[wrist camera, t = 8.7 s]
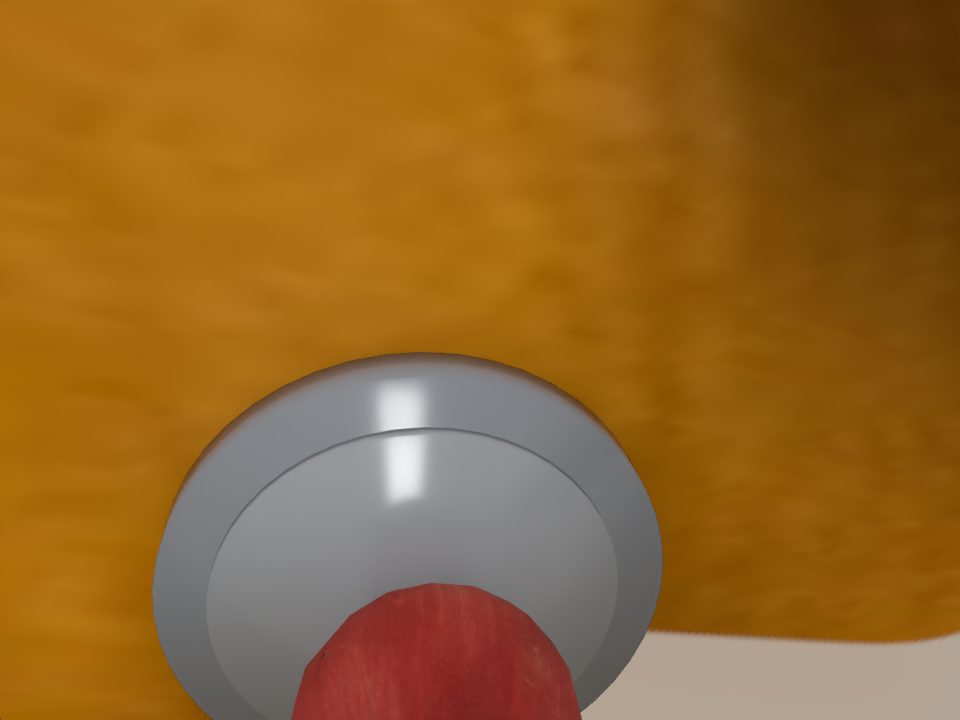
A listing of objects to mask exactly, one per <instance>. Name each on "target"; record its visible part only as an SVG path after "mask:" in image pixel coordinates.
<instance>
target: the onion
mask: <svg viewBox="0 0 960 720" xmlns="http://www.w3.org/2000/svg"><path fill="white" fill-rule="evenodd" d="M291 720H582V719H581V715H580V710H579V706H578V702H577V698H576V694H575V690H574V686H573V682H572V678H571V674H570V670H569V667H568V666H567V664H566V663H565V661H564V659H563V658H562V656H561V655H560V653H559V652H558V650H557V648H556V647H555V645H554V644H553V642H552V641H551V640H550V639H549V638H548V636H547V635H546V634H545V633H544V632H543V631H542V630H541V629H540V627H539V626H538V625H537V624H536V623H535V622H534V621H533V620H532V618H531V617H530V616H529V615H528V614H526V613H525V612H523V611H522V610H521V609H519V608H518V607H516V606H515V605H513V604H512V603H510V602H509V601H507V600H504V599H502V598H500V597H498V596H495V595H493V594H491V593H489V592H487V591H484V590H482V589H480V588H478V587H475V586H467V585H454V584H441V583H428V584H423V585H419V586H414V587H410V588H404V589H399V590H395V591H391V592H387V593H385V594H384V595H382V596H380V597H379V598H377V599H375V600H374V601H372V602H370V603H369V604H367V605H366V606H364V607H362V608H361V609H359V610H357V611H356V612H354V613H353V614H351V615H350V616H349V617H348V618H347V619H346V620H345V621H344V623H343V624H342V625H341V626H340V627H339V628H338V630H337V631H336V632H335V633H334V634H333V635H332V637H331V638H330V639H329V640H328V641H327V642H326V644H325V645H324V646H323V647H322V648H321V649H320V651H319V652H318V653H317V654H316V655H315V656H314V658H313V659H312V660H311V661H310V662H309V663H308V665H307V666H306V667H305V670H304V674H303V677H302V680H301V684H300V687H299V690H298V694H297V697H296V700H295V705H294V709H293V713H292V717H291Z"/></svg>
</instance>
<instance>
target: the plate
mask: <svg viewBox="0 0 960 720" xmlns="http://www.w3.org/2000/svg"><path fill="white" fill-rule="evenodd" d="M662 568H663V558H662V541H661V535H660V531H659V526H658V522H657V517H656V514H655V511H654V509H653V506H652V504H651V501H650V499H649V497H648V494H647V492H646V489H645V487H644V486H643V484H642V482H641V480H640V478H639V476H638V474H637V472H636V470H635V468H634V466H633V464H632V462H631V461H630V459H629V457H628V456H627V454H626V453H625V451H624V449H623V448H622V446H621V444H620V443H619V441H618V440H617V438H616V437H615V436H614V435H613V434H612V432H611V431H610V430H609V429H608V428H607V427H606V426H605V424H604V423H603V422H602V421H601V420H600V419H599V417H597V416H596V415H595V414H594V413H593V412H591V411H590V410H589V409H588V408H587V407H586V406H584V405H583V404H582V403H581V402H580V401H579V400H577V399H576V398H574V397H573V396H571V395H570V394H568V393H567V392H565V391H563V390H562V389H560V388H559V387H557V386H555V385H554V384H552V383H551V382H548V381H546V380H544V379H542V378H540V377H537V376H535V375H533V374H531V373H528V372H526V371H524V370H522V369H519V368H515V367H512V366H509V365H505V364H502V363H499V362H496V361H492V360H488V359H482V358H477V357H471V356H465V355H459V354H447V353H427V352H416V353H401V354H386V355H380V356H374V357H369V358H364V359H358V360H353V361H348V362H345V363H342V364H339V365H335V366H332V367H329V368H326V369H323V370H319V371H316V372H313V373H311V374H309V375H307V376H305V377H302V378H300V379H298V380H296V381H293V382H291V383H289V384H287V385H285V386H282V387H281V388H279V389H277V390H276V391H274V392H272V393H271V394H269V395H267V396H266V397H264V398H263V399H261V400H259V401H258V402H256V403H254V404H253V405H251V406H250V407H249V408H248V409H246V410H245V411H244V412H243V413H241V414H240V415H239V416H238V417H236V418H235V419H234V420H233V421H231V422H230V423H229V424H228V425H226V427H225V428H224V429H223V430H222V431H221V432H220V433H219V434H218V435H217V436H216V437H215V438H214V439H213V440H212V441H211V442H210V443H209V444H208V445H207V446H206V448H205V449H204V450H203V451H202V453H201V454H200V456H199V457H198V458H197V460H196V461H195V463H194V464H193V466H192V467H191V468H190V470H189V471H188V473H187V474H186V476H185V478H184V480H183V482H182V484H181V486H180V488H179V490H178V492H177V494H176V496H175V498H174V500H173V503H172V507H171V510H170V513H169V516H168V520H167V523H166V526H165V529H164V533H163V537H162V541H161V544H160V548H159V552H158V555H157V559H156V565H155V573H154V580H153V612H154V619H155V623H156V628H157V632H158V637H159V641H160V644H161V646H162V649H163V651H164V653H165V656H166V658H167V661H168V663H169V666H170V667H171V669H172V670H173V672H174V674H175V675H176V677H177V679H178V680H179V682H180V683H181V685H182V687H183V688H184V689H185V691H186V692H187V693H188V694H189V695H190V696H191V698H192V699H193V700H194V701H195V702H196V704H197V705H198V706H199V707H200V708H201V709H202V710H203V711H204V712H205V713H206V714H208V715H209V716H210V717H211V718H212V719H213V720H291V717H292V713H293V709H294V705H295V700H296V697H297V694H298V690H299V687H300V684H301V680H302V677H303V674H304V670H305V667H306V666H307V665H308V663H309V662H310V661H311V660H312V659H313V658H314V656H315V655H316V654H317V653H318V652H319V651H320V649H321V648H322V647H323V646H324V645H325V644H326V642H327V641H328V640H329V639H330V638H331V637H332V635H333V634H334V633H335V632H336V631H337V630H338V628H339V627H340V626H341V625H342V624H343V623H344V621H345V620H346V619H347V618H348V617H349V616H350V615H351V614H353V613H354V612H356V611H357V610H359V609H361V608H362V607H364V606H366V605H367V604H369V603H370V602H372V601H374V600H375V599H377V598H379V597H380V596H382V595H384V594H385V593H387V592H391V591H395V590H399V589H404V588H410V587H414V586H419V585H423V584H428V583H441V584H454V585H467V586H475V587H478V588H480V589H482V590H484V591H487V592H489V593H491V594H493V595H495V596H498V597H500V598H502V599H504V600H507V601H509V602H510V603H512V604H513V605H515V606H516V607H518V608H519V609H521V610H522V611H523V612H525V613H526V614H528V615H529V616H530V617H531V618H532V620H533V621H534V622H535V623H536V624H537V625H538V626H539V627H540V629H541V630H542V631H543V632H544V633H545V634H546V635H547V636H548V638H549V639H550V640H551V641H552V642H553V644H554V645H555V647H556V648H557V650H558V652H559V653H560V655H561V656H562V658H563V659H564V661H565V663H566V664H567V666H568V667H569V670H570V674H571V678H572V682H573V686H574V690H575V694H576V698H577V702H578V706H579V710H580V712H582V711H583V710H584V709H585V708H587V707H588V706H589V705H590V704H591V703H593V702H594V701H595V700H596V699H597V698H598V697H599V696H600V695H601V694H602V693H603V692H604V691H605V690H606V689H607V688H608V687H609V686H610V685H611V683H613V682H614V681H615V679H616V678H617V677H618V675H619V674H620V673H621V671H622V670H623V669H624V668H625V667H626V665H627V664H628V662H629V661H630V660H631V658H632V656H633V655H634V653H635V652H636V650H637V648H638V646H639V645H640V643H641V641H642V640H643V638H644V636H645V634H646V631H647V629H648V627H649V624H650V622H651V619H652V617H653V615H654V611H655V608H656V604H657V600H658V596H659V592H660V587H661V578H662Z"/></svg>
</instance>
